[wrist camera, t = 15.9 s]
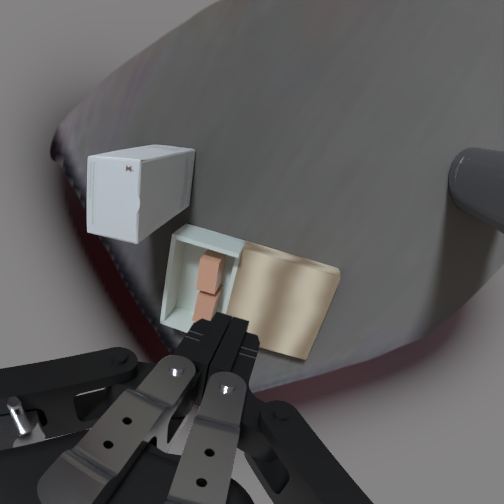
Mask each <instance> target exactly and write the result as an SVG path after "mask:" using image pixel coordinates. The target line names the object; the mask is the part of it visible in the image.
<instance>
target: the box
mask: <svg viewBox="0 0 504 504" xmlns="http://www.w3.org/2000/svg"><path fill="white" fill-rule="evenodd" d="M246 242H247V241H245V240H241V239H238V238H235V237H231V236H228V235H224V234H221V233H218V232H214V231H211V230H207V229H204V228H200V227H197V226H194V225H190V224H187V223H186V224H185V225H183V226H182V227H181V228H179V229H178V230H177V231H175V232H174V233H173V234H172V239H171V245H170V251H169V258H168V265H167V272H166V279H165V286H164V294H163V302H162V310H161V319H160V323H161V324H164V325H166V326H169V327H172V328H175V329H178V330H180V331H183V332H186V333H187V332H188V331H189V329H190V328H191V326H192V325H193V323H194V322H195V321H192V318H193V314H194V309H195V305H196V301H197V296H198V293H199V292H200V290H196V287H197V279H198V271H199V263H200V258H201V257H202V256H203V254H204V253H205V252H206V251H207V250H208V249H209V250H213V251H216V252H219V253H223V254H226V255H227V258H226V264H225V270H224V276H223V281H222V282H221V284H222V285H224V288H223V291H222V295H221V299H220V302H219V306H218V310H217V312H220V313H224V314H226V312H227V308H228V304H229V300H230V296H231V292H232V288H233V284H234V280H235V276H236V272H237V268H238V264H239V260H240V256H241V253H242V249H243V247H244V245H245V243H246Z"/></svg>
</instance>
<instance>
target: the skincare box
mask: <svg viewBox="0 0 504 504" xmlns="http://www.w3.org/2000/svg"><path fill="white" fill-rule="evenodd" d="M194 159H195V150H194V149H190V148H183V147H175V146H165V145H149V146H142V147H136V148H130V149H124V150H118V151H113V152H107V153H102V154H97V155H92V156H88V167H87V232H88V233H93V234H96V235H100V236H104V237H109V238H113V239H117V240H121V241H126V242H130V243H134V244H138V243H139V242H141V241H142V240H143V239H145V238H146V237H147V236H148V235H150V234H151V233H152V232H154V231H155V230H156V229H158V228H159V227H161V226H162V225H163V224H165V223H166V222H167V221H169V220H170V219H171V218H173V217H174V216H176V215H177V214H179V213H180V212H181V211H183V210H184V209H186V208H187V207H188V206H189V203H190V194H191V185H192V176H193V168H194Z"/></svg>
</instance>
